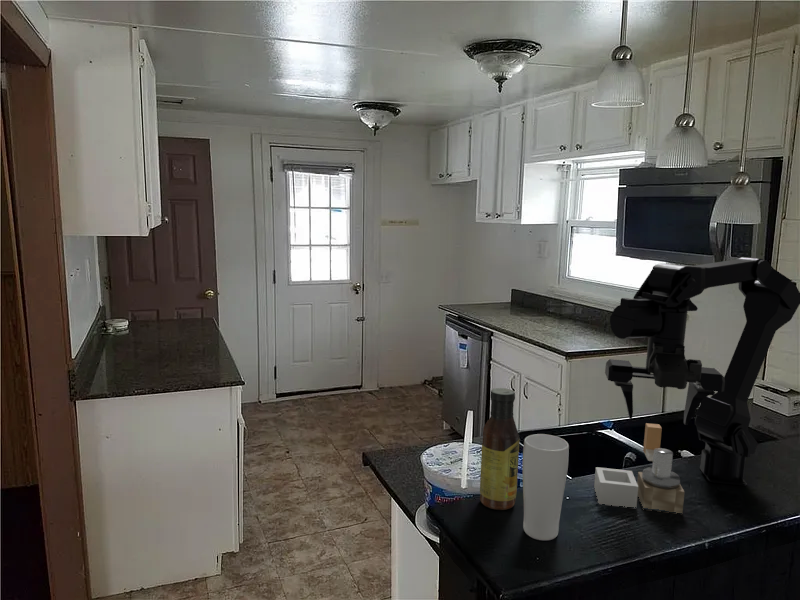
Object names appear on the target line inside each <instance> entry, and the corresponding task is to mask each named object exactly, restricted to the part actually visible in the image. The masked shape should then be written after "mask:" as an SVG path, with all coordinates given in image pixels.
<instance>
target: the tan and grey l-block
mask: <svg viewBox="0 0 800 600" xmlns="http://www.w3.org/2000/svg"><path fill="white" fill-rule="evenodd" d="M644 426H645V427H644V437H643V438H644V439H643V448H642V451H643V453H644V456H645V457H646V460H647V461H649V462H653V456H654V449H656V448H661V440H662V431H663V430H662V429H663V428H662V426H661V425H660V424H658V423H647V422H646V423H645V425H644Z"/></svg>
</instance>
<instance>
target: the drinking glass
mask: <svg viewBox="0 0 800 600" xmlns="http://www.w3.org/2000/svg"><path fill="white" fill-rule="evenodd" d="M569 449H570V445H569V443H568V441H566V440H565V439H564V438H561V437H559V436H557V435H551V434H545V433H537V434H530V435H528V436H526V437H525V438H524V439H523V449H522V464H521V465H522V469H521V470H522V492H523V493H522V497H523V499H522V500H523V501H522V502H523V523H522V527H523V532H525V534H526V535H527V536H528V537H530V538H532V539H534V540H537V541H546V542H547V541H551V540H552V541H553V540H554V539H556V537H557V536H558V534H559V529H560V528H559V527H560V520H561V519H560V518H561V512H562V505H563V499H564V494H565V489H566V488H565V487H566V482H567V477H568V476H567V475H568V468H569V458H570V457H569V454H570V453H569Z"/></svg>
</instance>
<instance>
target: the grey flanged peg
mask: <svg viewBox="0 0 800 600" xmlns="http://www.w3.org/2000/svg"><path fill="white" fill-rule="evenodd" d="M673 456H674V452H673V451H672V450H670V449H667V448H662V447H660V448H656V449H654V456H653V461H652V466H651V467H646V468H644V469H643V470H642V471H641V472H642V480H643V481H644V482H645V483H646V484H648V485H650V486H653V487H656V488H660V489H667V490H672V489H677V488H678V487H679V486H680V485H681V476H680V475H679V474H677V473H676V472H674V471H673V469H672V468H673V459H674V457H673Z"/></svg>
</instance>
